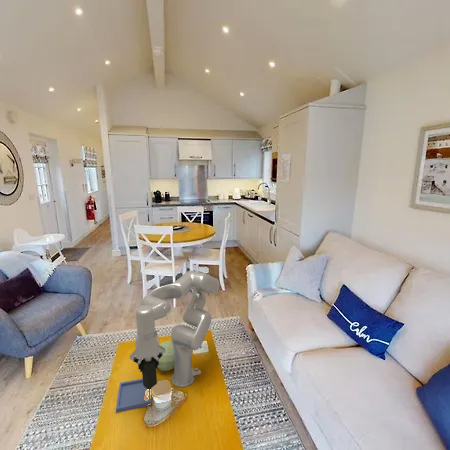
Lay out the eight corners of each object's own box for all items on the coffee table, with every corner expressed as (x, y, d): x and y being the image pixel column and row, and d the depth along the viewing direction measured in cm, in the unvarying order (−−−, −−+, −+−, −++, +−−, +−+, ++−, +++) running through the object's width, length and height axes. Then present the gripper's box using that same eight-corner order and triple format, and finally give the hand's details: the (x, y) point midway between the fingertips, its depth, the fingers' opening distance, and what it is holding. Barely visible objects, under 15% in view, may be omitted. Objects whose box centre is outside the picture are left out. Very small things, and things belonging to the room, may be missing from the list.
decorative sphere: (183, 358, 160) (182, 336, 156) (176, 377, 145) (175, 354, 142) (159, 356, 161) (158, 335, 158) (150, 375, 146) (148, 352, 143)
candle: (151, 377, 125) (147, 331, 119) (158, 383, 122) (155, 335, 116) (142, 384, 121) (138, 336, 115) (149, 390, 118) (145, 341, 112)
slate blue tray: (151, 380, 143) (151, 376, 143) (151, 405, 128) (151, 401, 128) (120, 386, 139) (119, 382, 139) (116, 412, 124) (115, 409, 123)
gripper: (165, 324, 121) (167, 358, 125) (125, 331, 116) (129, 366, 120) (167, 334, 114) (169, 369, 118) (124, 342, 109) (128, 378, 113)
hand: (148, 367), depth 119 cm, fingers closed on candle, 6 cm apart
